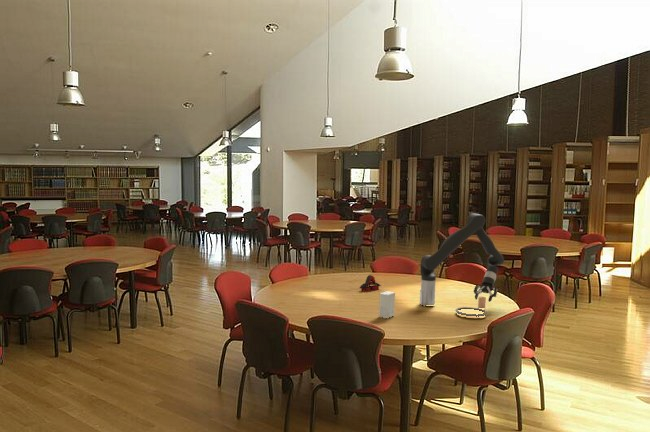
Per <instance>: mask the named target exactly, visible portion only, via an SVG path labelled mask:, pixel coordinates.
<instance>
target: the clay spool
mask: <svg viewBox="0 0 650 432" xmlns="http://www.w3.org/2000/svg"><path fill="white" fill-rule="evenodd" d="M486 298H487V297H485V296H478V298H477V300H478V301H477V302H478V303H477V304H478V305H477V308H485V309H486V304H487V303H486V301H487V299H486Z"/></svg>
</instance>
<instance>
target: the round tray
mask: <svg viewBox="0 0 650 432" xmlns="http://www.w3.org/2000/svg"><path fill="white" fill-rule="evenodd" d="M461 309H474V310H479V311H482V312H484V313H483V314H478V315H476V314H466V313H462V312H459V311H458V310H461ZM455 311H456V312H457V313H458V314H461V315H466V316H476V317H477V316H478V317H479V316H484V315H486V314H487V313H488V312H487V311H486V309H485V310H482V309H479V308H478V307H473V306H472V307H471V306H462V307H457V308H455Z"/></svg>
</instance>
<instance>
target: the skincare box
mask: <svg viewBox="0 0 650 432" xmlns="http://www.w3.org/2000/svg"><path fill="white" fill-rule="evenodd" d="M395 298H396V292H393V291H390V290H387V291H384V292H380V293H379V308H378V317H379V318H382V317H383V319H385V318H387V319H390V318H392V316H393V317H394V316H395V302H396V299H395ZM389 317H390V318H389Z"/></svg>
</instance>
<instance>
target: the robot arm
mask: <svg viewBox="0 0 650 432" xmlns="http://www.w3.org/2000/svg"><path fill="white" fill-rule="evenodd" d="M466 221H467V224H466V225H465V226H463V227H461V228H460V229H458V230H456V231H454V232H453V233H451V234H449V236H448V237H446V238H445V239H444V240H443V242H442V244H441V245H440V247H439V249H438V250H437V251H436V252H435V253H433V254H432V255H430V254H424V255H423V256H422V257H421V260H420V276H421V277H420V278H421V284H420V291H419V292H420V293H419V304H421V305H434V304H435V303H436V300H435V299H436V280H437V276H436V274H435V270H436V269H437V268H438V267H439V266H440V265H441V264H442V262H443V261H444V260H445V259H446V258H448V257H449V256H450V255H451V254H452V253H453V252H455V250H457V249H458V248H459V247H460V246H461V245H463V243H464V242H465V241H467V240H468V239H469V238H470V237H471V236H472V235H473V234H475V236H477V238H478V240H479V242H480V244H481V246H482V247H483V249H484V252H485V253H486V254H487V255H489V256H488V257H487V260H486V261H487V265H486V266H487V268H486V270H485V274H484V276H483V278H482V282H481V284H480V285H479V284H475V286H474V289H473V294H475V295H474V298H475V301H477V300H478V299H479V295H481V294H489V296H488V300H487V301H488V302H492V300H493V298H496V297H497V293H498V288H497V287H494V286H495V282H496V279H497V275H498V272H499V268H498V266H500V265H501V266H502V265H503V264H504V262H505V258H504V256H503V254H502V253H501V252H500V251H499V250H498V249H497V248H496V246H495V244H494V242H493V241H492V239H491V237H490V236H489V235H488V234H487V232H486V231H485V230H484V225H485V223H486V217H485V215H483V214H479V213H473V212H472V213H471V214H469V215H468V216H467V219H466ZM492 291H493V293H492ZM421 305H420V306H421Z"/></svg>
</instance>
